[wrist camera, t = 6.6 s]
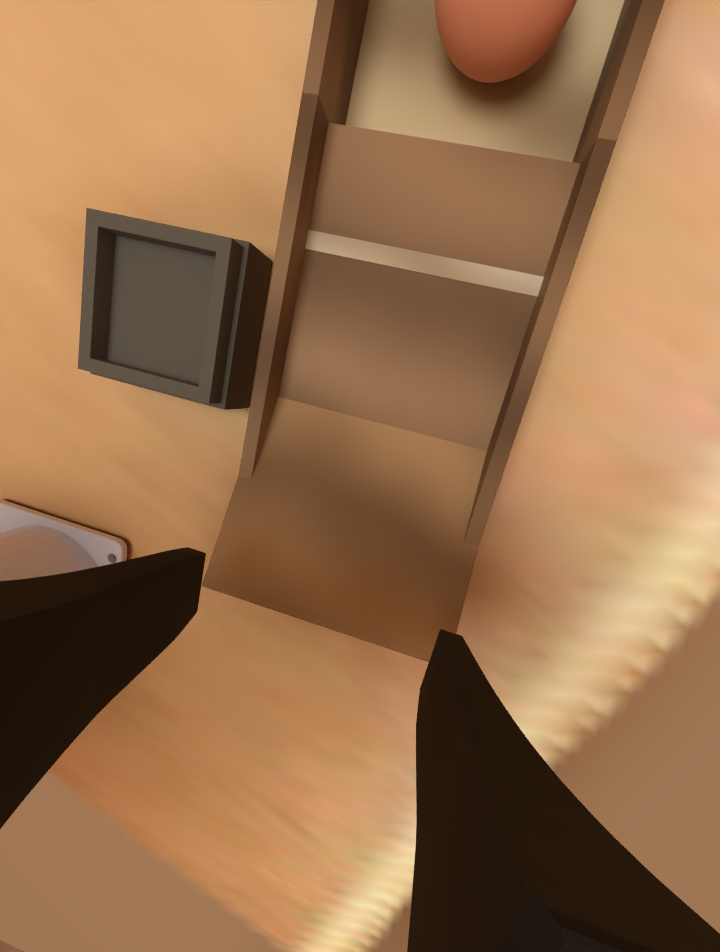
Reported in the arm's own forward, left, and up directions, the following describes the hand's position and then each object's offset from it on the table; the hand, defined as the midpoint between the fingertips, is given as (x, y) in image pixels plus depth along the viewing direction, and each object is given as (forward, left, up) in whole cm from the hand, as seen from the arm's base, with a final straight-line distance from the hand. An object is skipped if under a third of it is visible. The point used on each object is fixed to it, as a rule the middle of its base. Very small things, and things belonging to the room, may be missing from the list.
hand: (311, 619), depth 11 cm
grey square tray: (+8, +9, -6) cm, 13 cm away
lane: (+10, 0, -6) cm, 11 cm away
